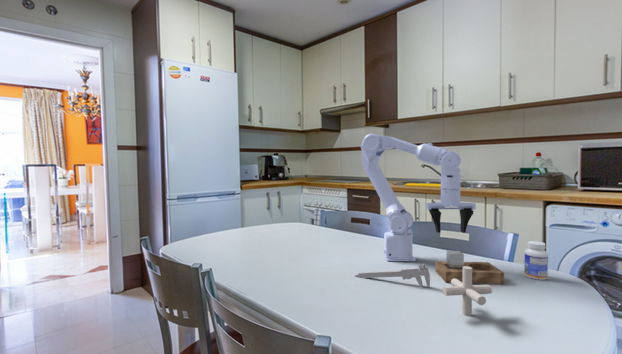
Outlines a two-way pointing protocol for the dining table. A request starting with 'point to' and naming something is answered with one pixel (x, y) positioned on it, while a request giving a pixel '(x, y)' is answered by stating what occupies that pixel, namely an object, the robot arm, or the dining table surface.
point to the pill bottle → (536, 261)
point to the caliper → (400, 274)
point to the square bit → (454, 260)
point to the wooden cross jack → (467, 291)
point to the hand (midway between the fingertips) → (450, 232)
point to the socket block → (480, 273)
